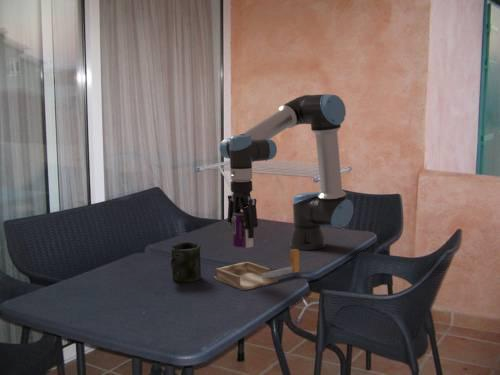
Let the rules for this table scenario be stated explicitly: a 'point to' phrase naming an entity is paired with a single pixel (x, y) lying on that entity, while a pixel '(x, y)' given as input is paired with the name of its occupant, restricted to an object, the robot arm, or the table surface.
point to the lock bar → (294, 268)
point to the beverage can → (239, 230)
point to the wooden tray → (243, 275)
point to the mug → (186, 262)
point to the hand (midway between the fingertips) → (242, 245)
